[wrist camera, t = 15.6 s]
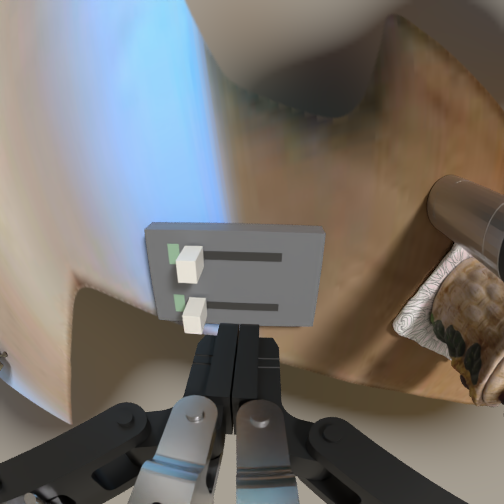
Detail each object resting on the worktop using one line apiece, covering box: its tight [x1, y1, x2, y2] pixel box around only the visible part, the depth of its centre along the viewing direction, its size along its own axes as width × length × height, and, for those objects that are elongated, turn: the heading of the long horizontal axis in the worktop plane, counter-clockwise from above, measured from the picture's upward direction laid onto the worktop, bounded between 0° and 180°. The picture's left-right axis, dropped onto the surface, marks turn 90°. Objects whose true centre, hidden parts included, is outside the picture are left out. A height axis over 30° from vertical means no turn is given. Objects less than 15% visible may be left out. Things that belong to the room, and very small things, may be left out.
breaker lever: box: [176, 246, 204, 284], centre depth 36 cm, size 2×3×4 cm
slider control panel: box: [144, 222, 326, 326], centre depth 41 cm, size 24×15×3 cm, turn 89°
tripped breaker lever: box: [182, 297, 207, 334], centre depth 39 cm, size 2×3×4 cm
